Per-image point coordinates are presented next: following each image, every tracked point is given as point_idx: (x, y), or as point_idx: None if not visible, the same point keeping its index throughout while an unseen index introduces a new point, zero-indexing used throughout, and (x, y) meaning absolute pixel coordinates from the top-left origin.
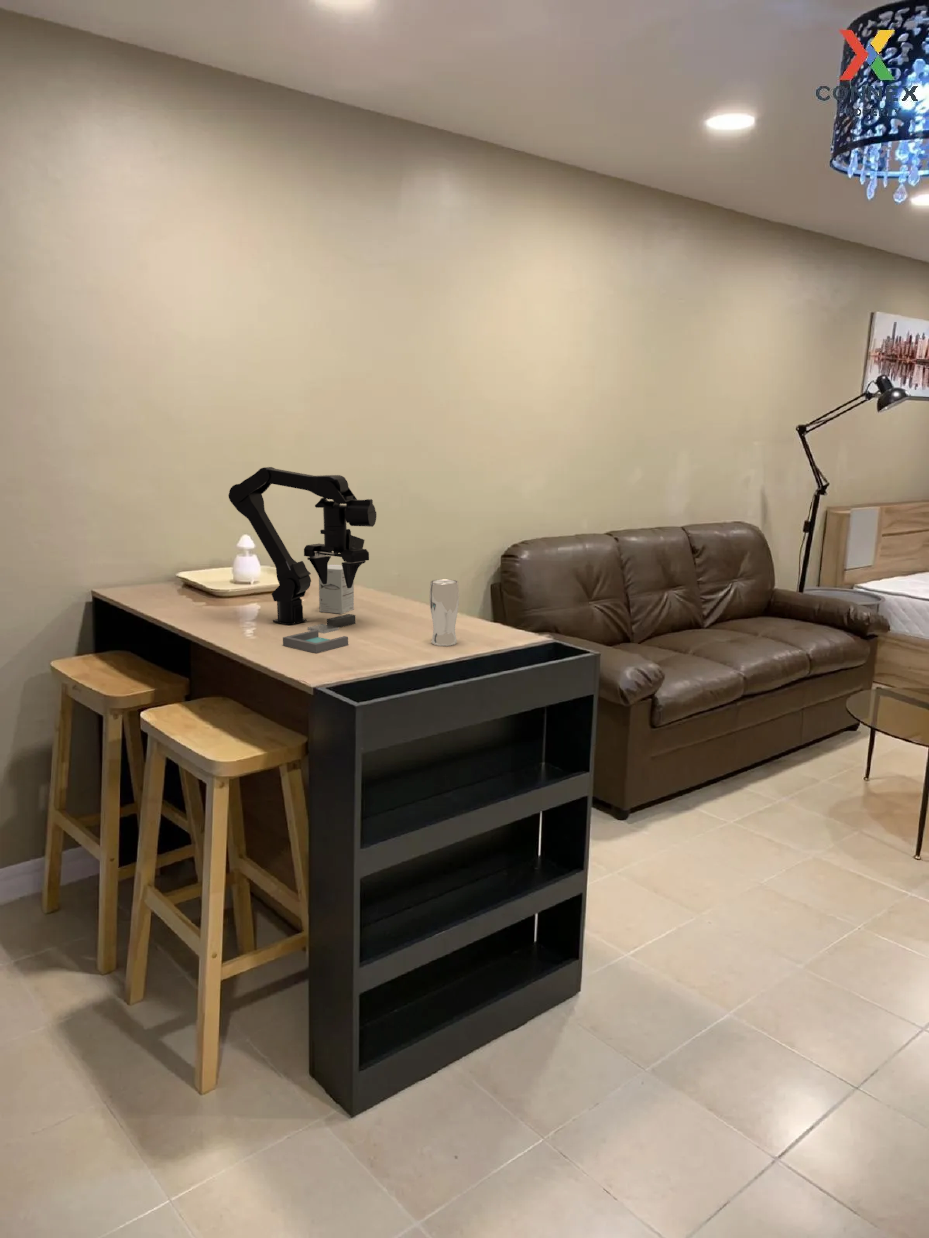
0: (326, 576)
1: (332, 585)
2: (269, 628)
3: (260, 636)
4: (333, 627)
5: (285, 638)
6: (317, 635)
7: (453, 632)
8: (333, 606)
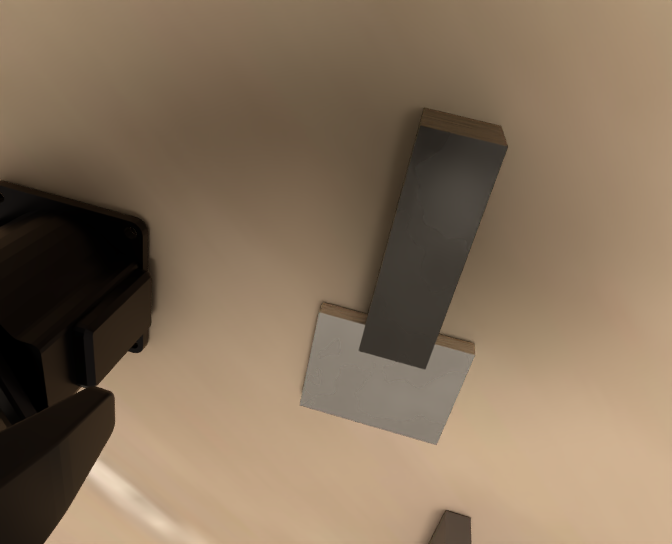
0: (34, 477)
1: None
2: (120, 415)
3: (208, 528)
4: (446, 368)
5: None
6: (468, 537)
7: None
8: None
